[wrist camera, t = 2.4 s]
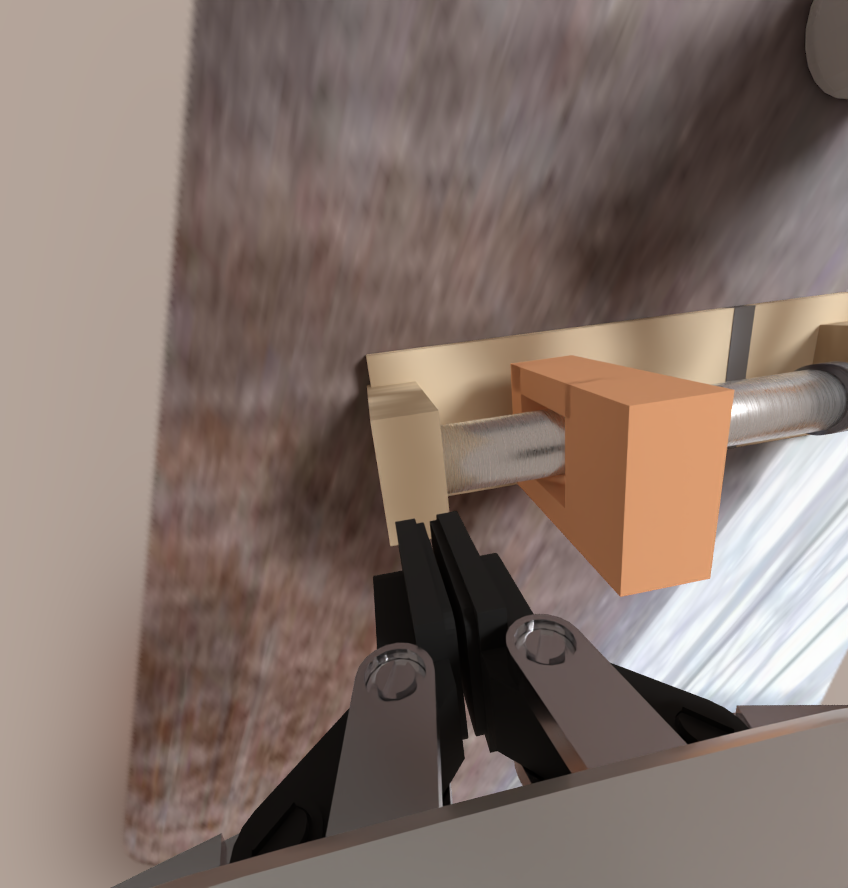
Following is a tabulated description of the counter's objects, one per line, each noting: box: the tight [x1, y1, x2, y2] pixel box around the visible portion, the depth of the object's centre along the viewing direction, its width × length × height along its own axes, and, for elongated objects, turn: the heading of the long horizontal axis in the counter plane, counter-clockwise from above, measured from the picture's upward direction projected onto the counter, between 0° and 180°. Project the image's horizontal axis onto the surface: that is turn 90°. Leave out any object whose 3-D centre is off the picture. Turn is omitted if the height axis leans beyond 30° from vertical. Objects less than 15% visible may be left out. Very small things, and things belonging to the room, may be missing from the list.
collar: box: [510, 355, 735, 597], centre depth 16 cm, size 3×6×9 cm, turn 7°
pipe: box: [440, 361, 848, 494], centre depth 18 cm, size 25×3×3 cm, turn 96°
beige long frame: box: [366, 292, 848, 546], centre depth 20 cm, size 27×8×7 cm, turn 97°
